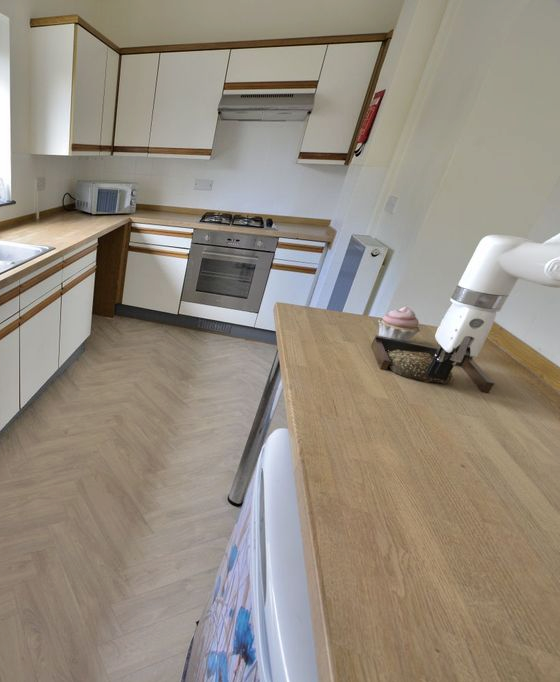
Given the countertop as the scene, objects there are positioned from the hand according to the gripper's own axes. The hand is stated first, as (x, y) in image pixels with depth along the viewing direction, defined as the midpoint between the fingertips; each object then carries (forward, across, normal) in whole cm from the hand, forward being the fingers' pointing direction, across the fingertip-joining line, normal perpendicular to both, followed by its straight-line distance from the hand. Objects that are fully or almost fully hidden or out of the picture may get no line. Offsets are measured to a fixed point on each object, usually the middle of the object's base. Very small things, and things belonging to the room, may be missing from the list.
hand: (435, 376), depth 90 cm
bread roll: (+2, +6, +1) cm, 7 cm away
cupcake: (+3, +26, +3) cm, 27 cm away
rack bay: (+2, +11, -1) cm, 11 cm away
